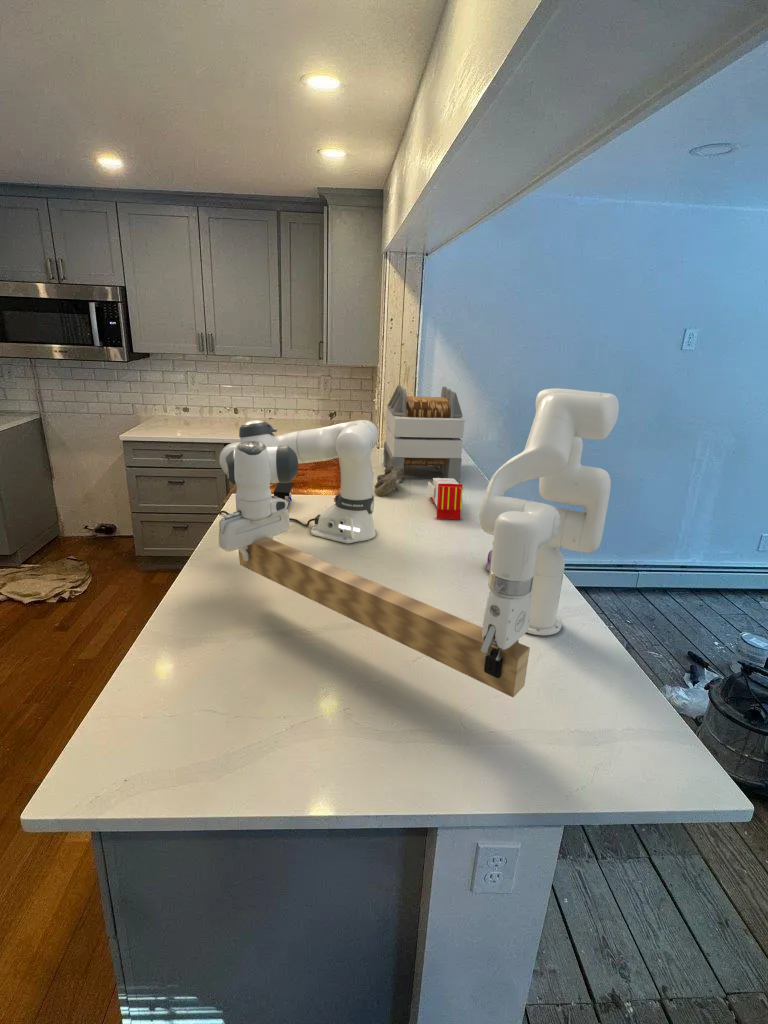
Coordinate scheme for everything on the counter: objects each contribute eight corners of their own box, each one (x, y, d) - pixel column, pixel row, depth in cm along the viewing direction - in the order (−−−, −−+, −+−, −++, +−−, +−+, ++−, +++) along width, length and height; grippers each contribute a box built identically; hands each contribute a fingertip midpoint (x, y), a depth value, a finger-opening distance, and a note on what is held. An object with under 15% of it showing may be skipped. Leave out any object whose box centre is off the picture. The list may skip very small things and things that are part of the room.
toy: (455, 474, 240) (467, 485, 211) (453, 505, 243) (464, 520, 214) (426, 473, 240) (434, 484, 211) (425, 504, 243) (432, 519, 213)
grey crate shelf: (382, 463, 289) (386, 382, 275) (445, 464, 293) (451, 384, 279) (390, 482, 257) (394, 392, 243) (460, 483, 261) (468, 394, 247)
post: (239, 565, 150) (237, 535, 147) (253, 559, 153) (251, 530, 150) (513, 697, 103) (518, 658, 100) (524, 685, 106) (530, 647, 103)
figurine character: (289, 514, 217) (294, 497, 231) (289, 496, 214) (294, 480, 227) (272, 513, 217) (278, 497, 230) (271, 495, 214) (277, 480, 227)
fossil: (373, 472, 257) (399, 454, 252) (386, 488, 260) (412, 470, 255) (367, 491, 238) (396, 472, 233) (381, 508, 240) (410, 490, 235)
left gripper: (227, 520, 134) (230, 572, 139) (292, 500, 149) (293, 548, 154) (211, 513, 138) (215, 565, 142) (276, 494, 152) (278, 541, 157)
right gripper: (506, 606, 91) (494, 699, 98) (550, 572, 104) (537, 656, 110) (466, 591, 96) (457, 680, 102) (513, 559, 108) (503, 641, 115)
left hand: (256, 556), depth 148 cm, fingers closed on post, 4 cm apart
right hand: (499, 667), depth 106 cm, fingers closed on post, 4 cm apart
